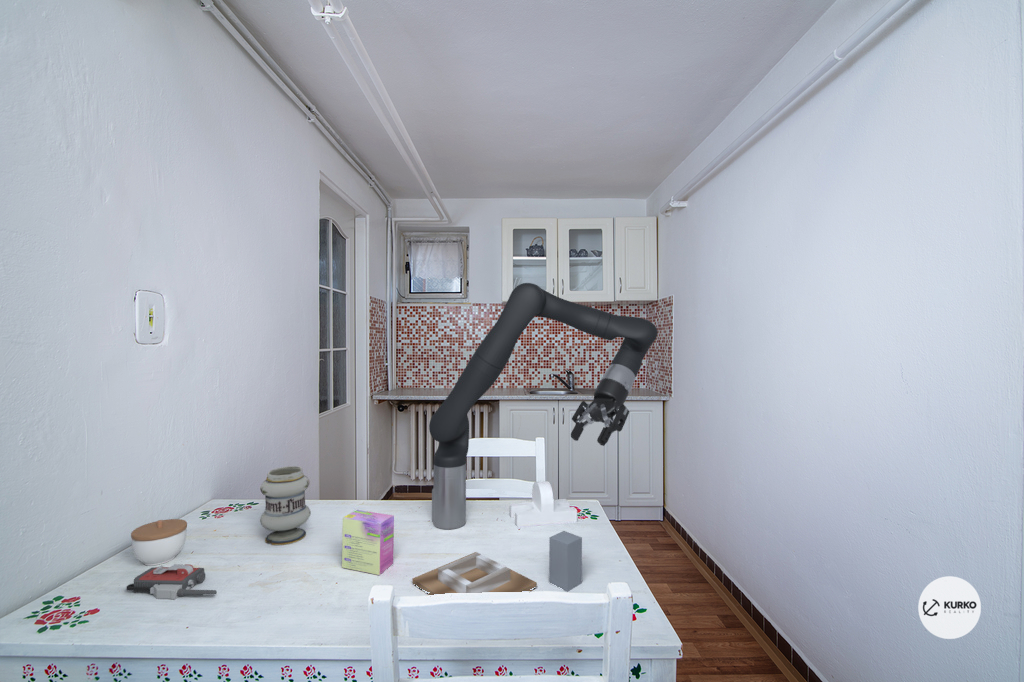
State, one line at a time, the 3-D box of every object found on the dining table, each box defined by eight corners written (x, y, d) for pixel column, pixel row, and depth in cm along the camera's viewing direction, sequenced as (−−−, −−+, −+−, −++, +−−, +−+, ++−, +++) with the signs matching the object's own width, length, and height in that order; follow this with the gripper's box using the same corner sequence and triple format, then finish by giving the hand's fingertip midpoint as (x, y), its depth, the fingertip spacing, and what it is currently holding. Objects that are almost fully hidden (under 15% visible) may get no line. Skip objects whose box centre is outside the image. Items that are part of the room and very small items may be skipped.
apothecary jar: (249, 542, 121) (249, 473, 121) (287, 525, 132) (287, 462, 132) (283, 550, 117) (283, 479, 117) (320, 532, 128) (320, 466, 128)
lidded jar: (182, 545, 119) (182, 509, 119) (191, 559, 112) (191, 520, 112) (128, 559, 112) (128, 520, 112) (133, 575, 104) (133, 533, 104)
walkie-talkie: (116, 600, 95) (212, 602, 94) (116, 578, 95) (212, 580, 94) (151, 578, 104) (239, 580, 103) (151, 558, 104) (239, 560, 103)
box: (394, 564, 110) (394, 514, 110) (379, 576, 104) (379, 523, 104) (357, 557, 113) (357, 509, 113) (341, 568, 108) (341, 517, 108)
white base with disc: (565, 510, 145) (565, 475, 145) (577, 522, 136) (577, 484, 136) (509, 515, 141) (509, 479, 141) (516, 528, 131) (517, 489, 131)
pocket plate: (412, 584, 101) (412, 566, 101) (475, 556, 114) (475, 541, 114) (471, 624, 87) (471, 604, 87) (536, 588, 99) (536, 570, 99)
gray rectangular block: (549, 583, 102) (549, 537, 102) (563, 575, 105) (563, 530, 105) (567, 592, 98) (567, 544, 98) (581, 583, 102) (581, 537, 102)
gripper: (585, 376, 121) (556, 428, 114) (630, 377, 109) (601, 435, 102) (601, 394, 124) (573, 446, 117) (646, 397, 112) (618, 454, 106)
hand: (586, 441), depth 110 cm, fingers open, 8 cm apart
